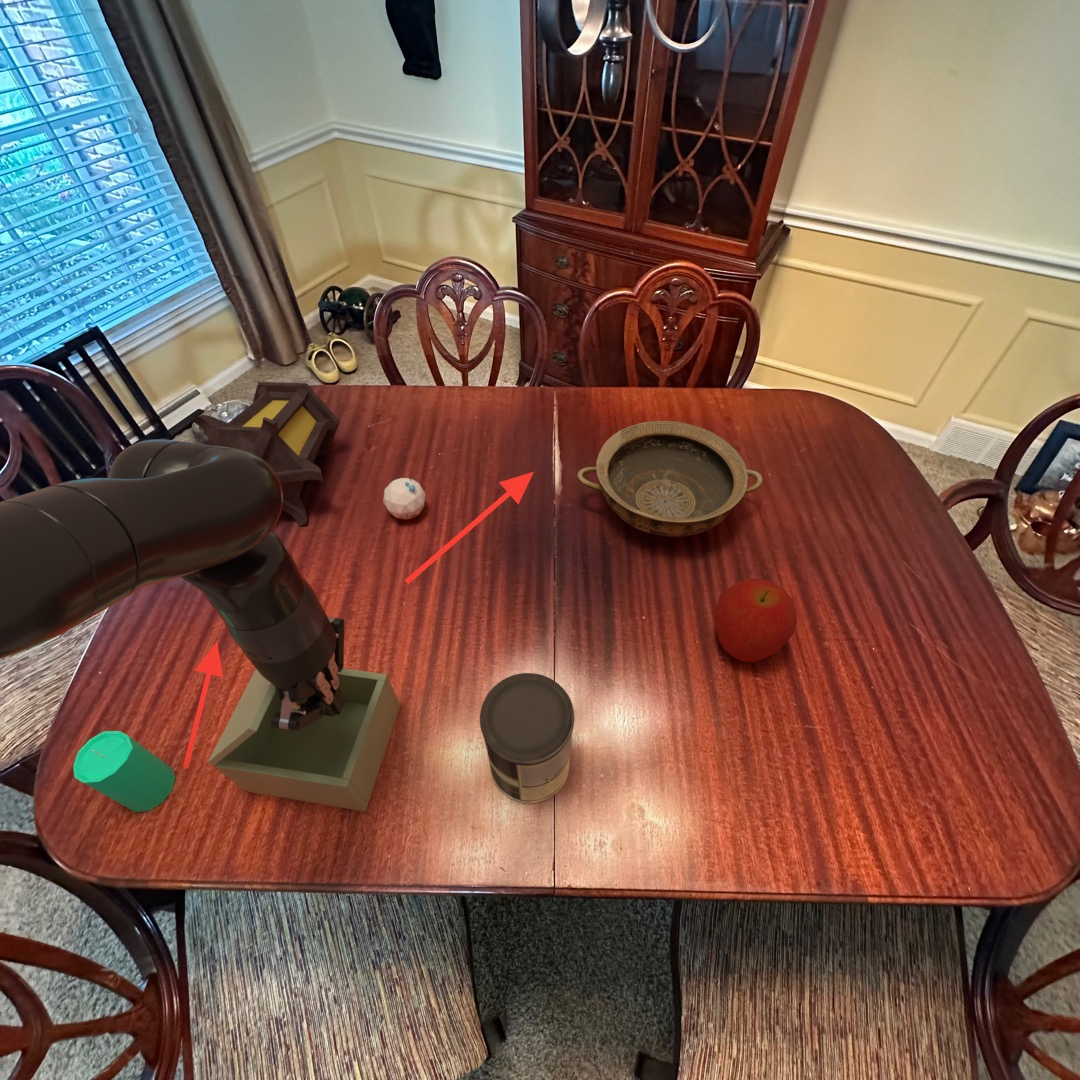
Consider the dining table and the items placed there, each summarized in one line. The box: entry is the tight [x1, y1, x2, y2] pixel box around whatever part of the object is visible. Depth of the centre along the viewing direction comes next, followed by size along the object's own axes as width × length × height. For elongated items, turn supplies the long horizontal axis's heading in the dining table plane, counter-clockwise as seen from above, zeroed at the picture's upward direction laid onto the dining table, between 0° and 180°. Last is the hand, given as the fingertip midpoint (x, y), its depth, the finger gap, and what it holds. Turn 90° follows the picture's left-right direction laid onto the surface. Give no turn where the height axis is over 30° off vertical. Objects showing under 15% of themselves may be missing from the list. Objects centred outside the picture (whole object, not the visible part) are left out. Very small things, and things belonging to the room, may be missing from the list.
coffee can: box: [479, 672, 576, 804], centre depth 71 cm, size 10×10×14 cm
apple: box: [713, 578, 798, 663], centre depth 81 cm, size 10×10×14 cm
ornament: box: [382, 477, 427, 520], centre depth 101 cm, size 7×7×8 cm
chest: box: [212, 667, 401, 813], centre depth 74 cm, size 16×14×9 cm
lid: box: [207, 668, 276, 766], centre depth 66 cm, size 17×14×1 cm
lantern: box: [190, 381, 340, 528], centre depth 100 cm, size 21×23×30 cm
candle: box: [72, 730, 176, 813], centre depth 70 cm, size 6×6×12 cm
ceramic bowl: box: [576, 420, 764, 538], centre depth 100 cm, size 30×24×10 cm
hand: (334, 707), depth 67 cm, fingers closed
